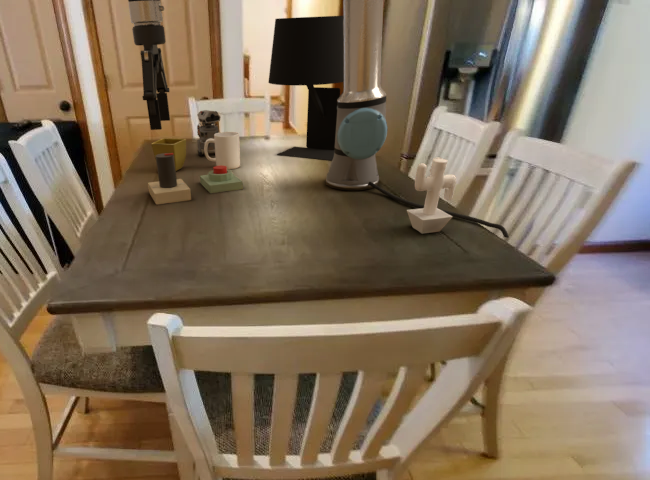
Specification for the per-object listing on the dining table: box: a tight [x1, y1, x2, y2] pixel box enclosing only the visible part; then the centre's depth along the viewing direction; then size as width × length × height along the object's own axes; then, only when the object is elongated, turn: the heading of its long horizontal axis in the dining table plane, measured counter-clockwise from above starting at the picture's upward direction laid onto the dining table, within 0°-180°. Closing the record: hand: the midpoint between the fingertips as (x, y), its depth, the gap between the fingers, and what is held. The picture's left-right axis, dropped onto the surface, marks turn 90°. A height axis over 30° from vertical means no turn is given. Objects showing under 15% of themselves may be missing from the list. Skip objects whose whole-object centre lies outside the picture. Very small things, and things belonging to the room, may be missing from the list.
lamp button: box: [212, 165, 228, 174], centre depth 138 cm, size 4×4×2 cm
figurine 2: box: [406, 157, 457, 235], centre depth 102 cm, size 7×9×15 cm
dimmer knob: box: [154, 153, 178, 188], centre depth 129 cm, size 5×5×8 cm
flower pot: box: [150, 137, 187, 172], centre depth 156 cm, size 9×9×9 cm
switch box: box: [199, 169, 244, 194], centre depth 139 cm, size 12×10×4 cm
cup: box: [203, 131, 241, 170], centre depth 156 cm, size 8×12×10 cm
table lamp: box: [267, 15, 344, 162], centre depth 155 cm, size 26×28×40 cm
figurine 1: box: [196, 109, 221, 157], centre depth 169 cm, size 9×12×15 cm
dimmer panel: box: [147, 178, 192, 206], centre depth 133 cm, size 12×10×3 cm
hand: (160, 125), depth 123 cm, fingers open, 13 cm apart
